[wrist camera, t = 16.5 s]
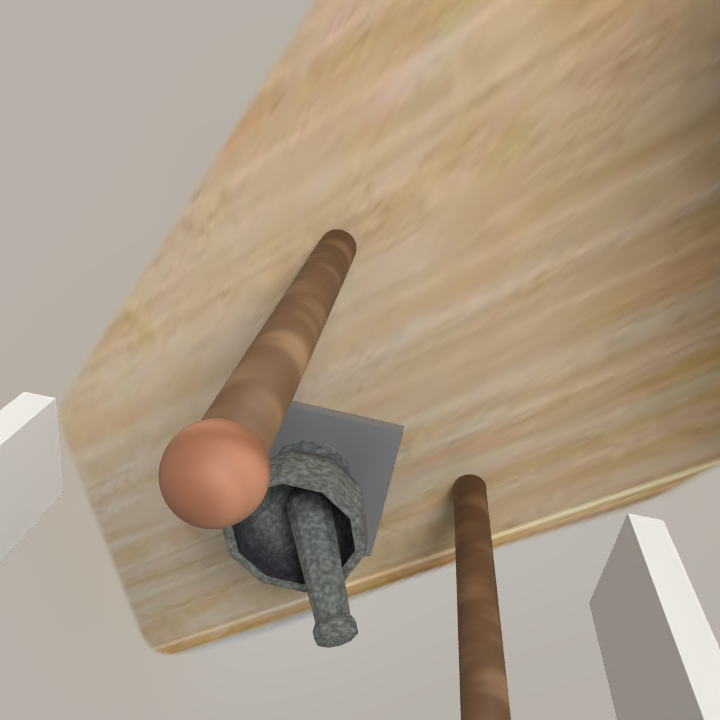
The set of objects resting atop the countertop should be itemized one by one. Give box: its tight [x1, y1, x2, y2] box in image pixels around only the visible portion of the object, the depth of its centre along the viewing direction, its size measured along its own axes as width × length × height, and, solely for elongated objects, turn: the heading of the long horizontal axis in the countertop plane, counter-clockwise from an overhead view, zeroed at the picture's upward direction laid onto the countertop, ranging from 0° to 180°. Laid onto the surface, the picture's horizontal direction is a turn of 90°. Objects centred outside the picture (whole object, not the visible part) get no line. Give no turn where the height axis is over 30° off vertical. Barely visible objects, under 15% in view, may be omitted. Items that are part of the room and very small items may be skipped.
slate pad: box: [268, 401, 403, 556], centre depth 48 cm, size 11×12×1 cm
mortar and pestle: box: [223, 439, 368, 647], centre depth 43 cm, size 11×9×12 cm
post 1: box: [159, 230, 356, 529], centre depth 29 cm, size 3×3×26 cm
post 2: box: [454, 475, 511, 720], centre depth 36 cm, size 3×3×26 cm
